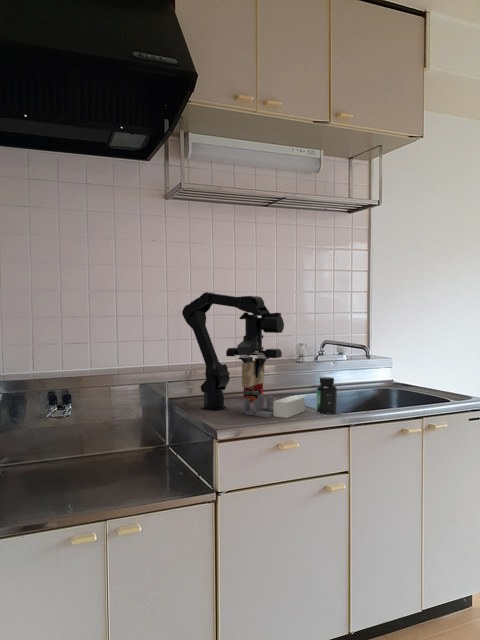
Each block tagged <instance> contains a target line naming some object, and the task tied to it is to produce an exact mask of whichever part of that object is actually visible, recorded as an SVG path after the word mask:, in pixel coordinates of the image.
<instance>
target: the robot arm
mask: <svg viewBox="0 0 480 640" xmlns="http://www.w3.org/2000/svg"><path fill="white" fill-rule="evenodd" d="M213 305H219V306H226V307H233V308H236V309H238V310H240V311H242V312H243V313H242V315H240V317H239V319H240V320H245V322H244V323H245V325H244V326H245V327H244V329H245V330H244V331H245V332H244V335H243V338H242V339H243V340H242V341H241V342H240V343H239V344H237V345H236V346H237V347H228V348H227V349H226V352H225V353H226V354H225V355H226V357H235V356H239V357H238V360H241V361H242V363H245V362H250V361H255V362H256V372H255V375H256V378H258V376H259V374H260V371H261V369H262V367H263V365H264V366H265V362H266V361H267V360H269V359H279V358H282V357H283V356H282V355H283V354H282V350H281V349H280V348H266V349H265V350H264V346H263V339H264V335H263V333H267V334H282V333H283V331H284V327H285V322H284V319H283V317H282V312H273V313H271V312H270V311H269V310H268V308H267V306H266V305H265V300H264V299H263V298H262V297H261V296H256V295H242V296H234V295H227V294H219V293H214V292H208V291H205V292H203V293H202V294H201V295H200V296H199V297H197V298H195V299H194V300H192V301H191V302H190V303H189V304H186V305H185V306H184V307H183V309H182V311H181V314H182V317H183V319H184V321H185V323H186V324H187V325H188V326H189V327H190V328H191V329H192V331H193V334H194V337H195V340H196V342H197V344H198V347H199V351H200V353H201V355H202V356H201V357H202V358H203V360H204V364H205V374H204V375H205V380H204V381H203V383H202V384H201V385H200V386H199V387H200V391H201V393H203V406H201V407H200V408H201V409H203V410H211V411H212V410H213V411H218V410H221V409H224V408H226V405H224V404H225V402H224V401H225V396H224V391H225V390H226V388H227V385H228V384H229V382H230V378H231V377H230V375H231V373H230V372H229V370H228V366H227V364H226V363H224V364H223V363H221V362H220V361H219V358H218V356H217V353H216V351H215V348H214V345H213V342H212V340H211V336H210V334H209V332H208V331H209V330H208V329H207V326H206V324H207V316H206V315H207V312H209V310H211V308H212V306H213ZM249 313H251V314H249ZM259 316H260V317H259ZM253 356H256V358H254V357H253Z"/></svg>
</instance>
